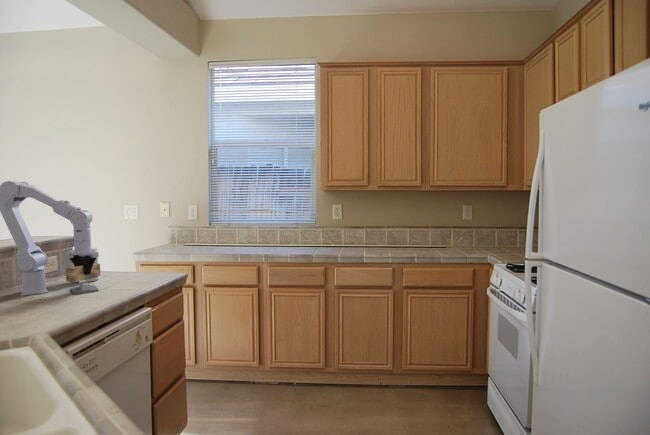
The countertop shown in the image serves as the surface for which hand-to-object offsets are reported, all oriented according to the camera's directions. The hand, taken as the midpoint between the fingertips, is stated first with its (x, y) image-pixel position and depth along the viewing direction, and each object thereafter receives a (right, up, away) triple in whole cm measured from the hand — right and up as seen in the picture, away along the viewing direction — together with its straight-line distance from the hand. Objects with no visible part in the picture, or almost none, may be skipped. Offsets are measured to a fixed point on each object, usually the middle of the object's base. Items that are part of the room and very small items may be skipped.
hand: (83, 274), depth 149 cm
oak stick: (0, -2, 0) cm, 2 cm away
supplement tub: (-10, -6, +17) cm, 21 cm away
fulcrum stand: (0, -7, 0) cm, 6 cm away
